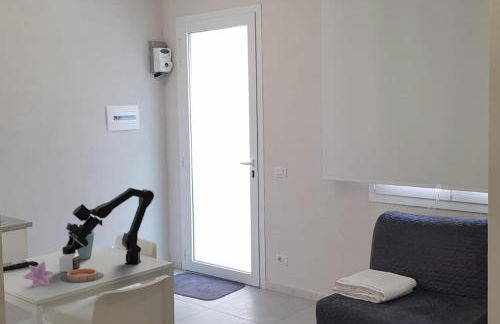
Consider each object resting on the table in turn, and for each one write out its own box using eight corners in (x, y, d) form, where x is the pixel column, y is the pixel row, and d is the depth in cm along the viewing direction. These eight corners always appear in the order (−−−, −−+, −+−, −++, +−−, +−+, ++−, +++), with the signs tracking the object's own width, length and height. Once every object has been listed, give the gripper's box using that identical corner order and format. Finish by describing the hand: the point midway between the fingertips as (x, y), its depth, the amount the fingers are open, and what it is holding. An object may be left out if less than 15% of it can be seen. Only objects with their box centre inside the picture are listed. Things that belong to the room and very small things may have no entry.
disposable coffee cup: (70, 258, 318) (69, 231, 317) (86, 254, 328) (85, 227, 326) (84, 261, 313) (83, 233, 312) (99, 256, 322) (99, 229, 321)
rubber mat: (110, 272, 289) (110, 272, 289) (93, 284, 270) (93, 283, 270) (72, 271, 293) (72, 270, 293) (52, 282, 273) (52, 281, 273)
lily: (19, 290, 266) (23, 274, 262) (26, 273, 276) (30, 257, 272) (46, 296, 268) (50, 280, 264) (52, 280, 278) (56, 264, 274)
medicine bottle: (73, 272, 288) (71, 248, 287) (59, 272, 289) (58, 247, 288) (80, 268, 295) (78, 244, 294) (67, 268, 296) (65, 244, 295)
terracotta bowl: (102, 273, 287) (102, 269, 287) (89, 281, 273) (89, 277, 273) (75, 272, 289) (75, 267, 289) (61, 280, 275) (61, 275, 275)
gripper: (71, 214, 300) (49, 238, 295) (80, 219, 283) (58, 245, 279) (87, 227, 304) (66, 251, 300) (97, 234, 288) (75, 259, 284)
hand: (66, 251), depth 290 cm, fingers closed on medicine bottle, 6 cm apart
